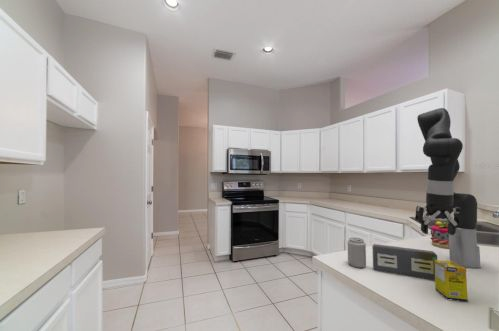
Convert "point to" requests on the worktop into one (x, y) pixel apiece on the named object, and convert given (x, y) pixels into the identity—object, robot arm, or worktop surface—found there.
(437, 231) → the cake
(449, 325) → the worktop surface
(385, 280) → the worktop surface
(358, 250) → the can
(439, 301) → the worktop surface
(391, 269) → the panel
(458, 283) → the supplement box
